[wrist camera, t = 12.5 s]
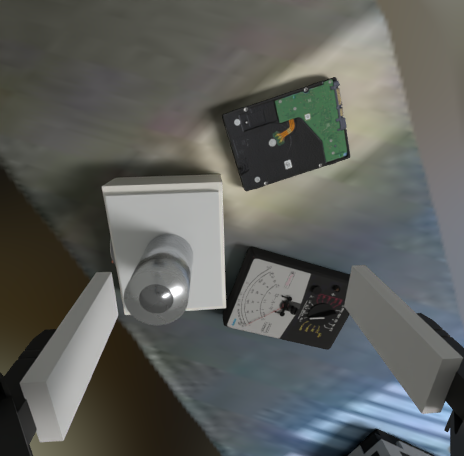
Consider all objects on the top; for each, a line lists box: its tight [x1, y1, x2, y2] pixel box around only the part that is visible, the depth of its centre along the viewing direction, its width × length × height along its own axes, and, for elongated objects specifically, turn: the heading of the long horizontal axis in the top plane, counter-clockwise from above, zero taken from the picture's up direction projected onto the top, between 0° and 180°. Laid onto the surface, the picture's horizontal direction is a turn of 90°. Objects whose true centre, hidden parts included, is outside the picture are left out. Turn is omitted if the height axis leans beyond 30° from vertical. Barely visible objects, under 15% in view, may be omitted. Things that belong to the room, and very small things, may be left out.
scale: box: [102, 174, 226, 315], centre depth 39 cm, size 18×15×6 cm
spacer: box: [124, 234, 193, 325], centre depth 31 cm, size 6×6×10 cm
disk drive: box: [222, 77, 350, 191], centre depth 37 cm, size 10×3×15 cm
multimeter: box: [223, 247, 350, 349], centre depth 45 cm, size 13×19×5 cm
